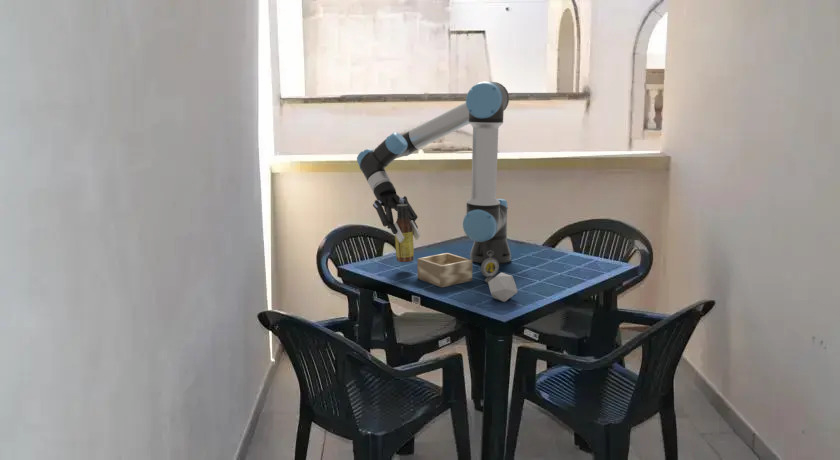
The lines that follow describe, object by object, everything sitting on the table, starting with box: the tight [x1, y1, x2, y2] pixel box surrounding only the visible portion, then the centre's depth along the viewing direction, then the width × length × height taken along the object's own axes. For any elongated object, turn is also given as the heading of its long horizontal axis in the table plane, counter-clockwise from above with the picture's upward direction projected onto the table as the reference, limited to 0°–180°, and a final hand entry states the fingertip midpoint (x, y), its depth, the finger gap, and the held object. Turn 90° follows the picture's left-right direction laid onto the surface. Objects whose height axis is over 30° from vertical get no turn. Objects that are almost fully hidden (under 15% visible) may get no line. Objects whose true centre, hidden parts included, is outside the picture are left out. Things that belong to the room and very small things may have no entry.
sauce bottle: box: [394, 204, 415, 263], centre depth 235 cm, size 6×6×20 cm
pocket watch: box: [480, 251, 500, 284], centre depth 223 cm, size 8×8×10 cm
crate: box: [417, 252, 473, 288], centre depth 226 cm, size 13×13×7 cm
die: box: [487, 272, 519, 303], centre depth 205 cm, size 8×9×10 cm
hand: (410, 238), depth 233 cm, fingers closed on sauce bottle, 6 cm apart
